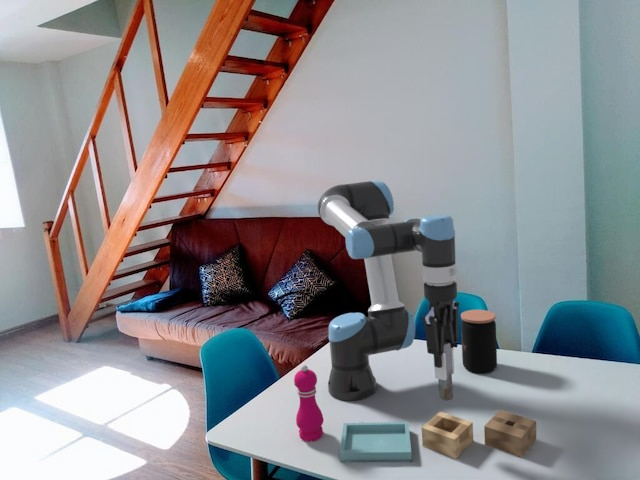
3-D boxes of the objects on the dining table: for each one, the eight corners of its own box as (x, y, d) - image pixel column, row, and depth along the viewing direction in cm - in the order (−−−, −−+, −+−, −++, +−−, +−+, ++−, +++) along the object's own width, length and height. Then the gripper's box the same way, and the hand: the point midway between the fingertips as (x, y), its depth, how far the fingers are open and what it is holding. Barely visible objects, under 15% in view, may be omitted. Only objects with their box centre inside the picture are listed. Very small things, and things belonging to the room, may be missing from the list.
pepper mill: (315, 445, 127) (307, 373, 123) (292, 439, 131) (284, 368, 127) (329, 431, 133) (323, 361, 129) (307, 425, 137) (300, 357, 133)
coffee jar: (469, 358, 169) (467, 308, 166) (501, 363, 163) (499, 311, 159) (458, 371, 160) (455, 318, 157) (491, 377, 154) (489, 322, 151)
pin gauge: (436, 398, 120) (433, 344, 118) (443, 393, 123) (440, 339, 120) (448, 402, 118) (446, 346, 116) (455, 396, 120) (452, 342, 118)
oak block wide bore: (422, 445, 123) (421, 427, 122) (440, 429, 129) (440, 411, 128) (455, 458, 116) (455, 439, 116) (473, 440, 123) (472, 422, 122)
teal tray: (340, 462, 119) (339, 452, 119) (344, 431, 132) (343, 423, 132) (411, 461, 117) (411, 452, 117) (408, 430, 130) (408, 421, 129)
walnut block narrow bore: (484, 444, 121) (484, 426, 120) (500, 427, 127) (499, 409, 126) (522, 457, 115) (521, 438, 114) (536, 439, 121) (535, 420, 120)
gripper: (436, 292, 107) (442, 393, 111) (470, 275, 119) (474, 366, 123) (407, 288, 112) (413, 384, 116) (442, 272, 124) (447, 360, 128)
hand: (444, 375), depth 119 cm, fingers closed on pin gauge, 3 cm apart
